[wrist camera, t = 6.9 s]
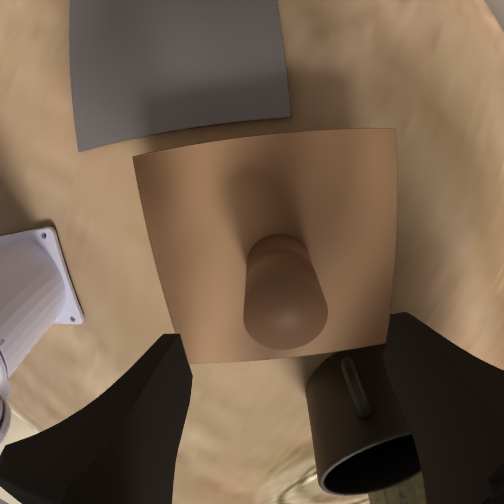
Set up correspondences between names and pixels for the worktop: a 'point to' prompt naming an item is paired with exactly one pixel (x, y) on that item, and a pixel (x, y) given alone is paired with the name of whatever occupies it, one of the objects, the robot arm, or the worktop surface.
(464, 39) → the worktop surface
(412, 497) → the thermos
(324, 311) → the lid
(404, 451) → the mug
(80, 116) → the mat
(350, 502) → the worktop surface
